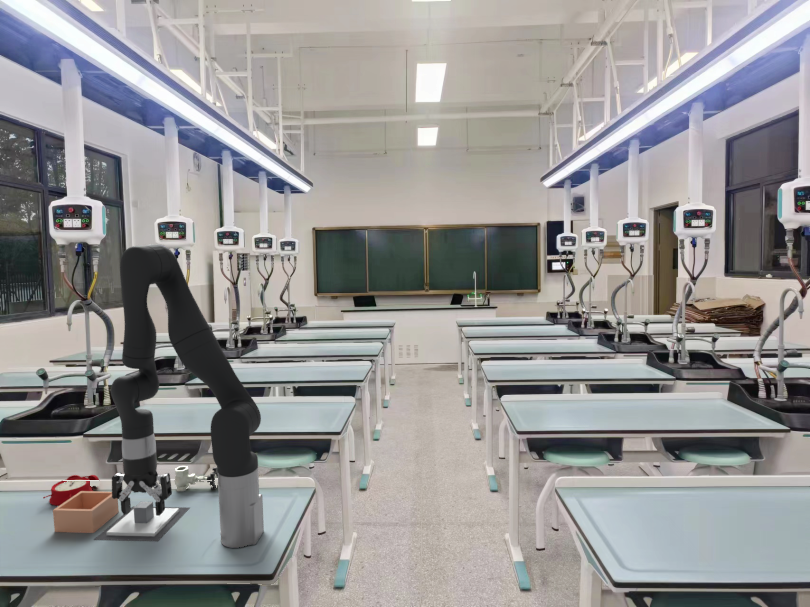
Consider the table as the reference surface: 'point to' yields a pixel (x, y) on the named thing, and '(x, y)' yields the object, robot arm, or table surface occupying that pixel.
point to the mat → (143, 538)
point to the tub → (85, 512)
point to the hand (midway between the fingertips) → (143, 513)
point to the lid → (143, 521)
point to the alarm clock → (69, 489)
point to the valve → (192, 478)
